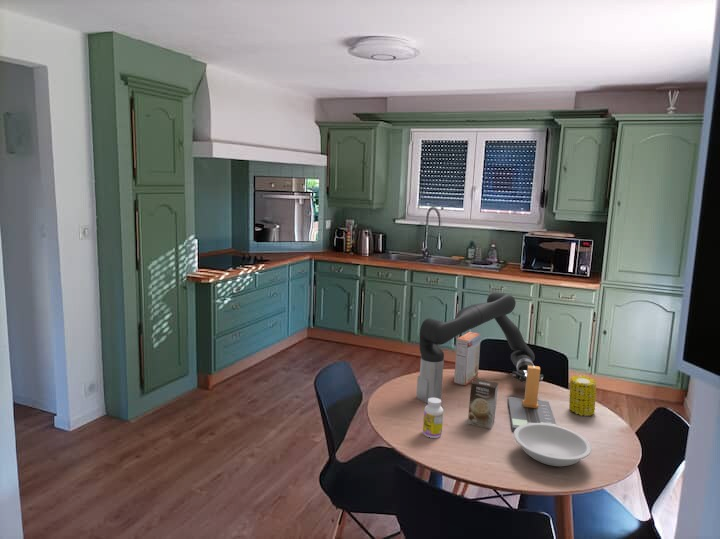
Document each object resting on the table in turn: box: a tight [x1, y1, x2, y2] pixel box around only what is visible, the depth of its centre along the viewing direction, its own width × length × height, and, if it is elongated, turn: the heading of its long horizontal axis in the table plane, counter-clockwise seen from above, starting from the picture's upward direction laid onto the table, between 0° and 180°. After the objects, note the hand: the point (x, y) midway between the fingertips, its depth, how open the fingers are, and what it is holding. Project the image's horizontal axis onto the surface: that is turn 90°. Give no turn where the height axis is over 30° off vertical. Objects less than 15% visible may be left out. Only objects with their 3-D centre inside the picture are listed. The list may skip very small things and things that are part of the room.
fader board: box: [507, 396, 557, 433], centre depth 200 cm, size 28×16×4 cm, turn 168°
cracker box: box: [453, 331, 482, 386], centre depth 233 cm, size 14×6×21 cm, turn 144°
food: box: [568, 374, 597, 417], centre depth 206 cm, size 15×12×10 cm
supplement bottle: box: [422, 398, 444, 439], centre depth 182 cm, size 7×7×13 cm
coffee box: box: [467, 377, 499, 430], centre depth 192 cm, size 9×6×16 cm
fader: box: [522, 365, 541, 408], centre depth 205 cm, size 4×6×16 cm
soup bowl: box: [513, 423, 593, 467], centre depth 170 cm, size 24×24×7 cm
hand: (529, 383), depth 212 cm, fingers closed
